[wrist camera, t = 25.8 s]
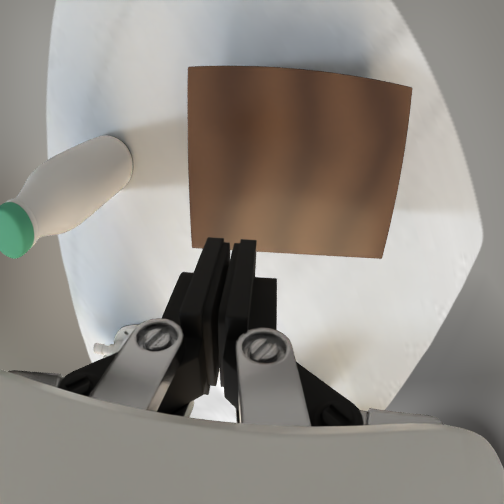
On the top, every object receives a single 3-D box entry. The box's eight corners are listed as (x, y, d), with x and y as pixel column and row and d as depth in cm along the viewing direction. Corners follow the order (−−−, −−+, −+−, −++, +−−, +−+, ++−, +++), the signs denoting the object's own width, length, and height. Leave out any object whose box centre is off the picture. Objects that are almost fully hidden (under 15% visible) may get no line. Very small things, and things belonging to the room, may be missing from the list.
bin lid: (193, 244, 29) (191, 248, 29) (190, 67, 21) (187, 66, 21) (379, 254, 29) (381, 258, 28) (408, 87, 21) (412, 87, 20)
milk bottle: (99, 123, 34) (-17, 172, 17) (145, 155, 36) (48, 227, 19) (76, 171, 38) (-27, 242, 20) (118, 202, 40) (29, 292, 22)
